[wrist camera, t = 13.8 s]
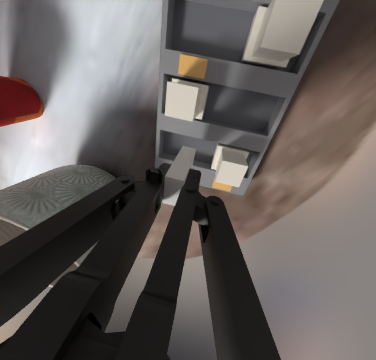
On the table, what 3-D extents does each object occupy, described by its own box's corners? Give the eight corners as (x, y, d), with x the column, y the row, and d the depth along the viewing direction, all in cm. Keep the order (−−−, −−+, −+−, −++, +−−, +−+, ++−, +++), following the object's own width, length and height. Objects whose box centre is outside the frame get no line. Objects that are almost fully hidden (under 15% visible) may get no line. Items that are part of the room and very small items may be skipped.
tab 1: (176, 79, 17) (160, 75, 13) (209, 86, 17) (206, 85, 12) (173, 110, 19) (158, 117, 14) (203, 116, 19) (197, 126, 14)
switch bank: (176, -45, 13) (165, -81, 11) (333, -21, 13) (367, -52, 10) (161, 165, 25) (153, 174, 23) (240, 184, 25) (243, 196, 22)
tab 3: (254, 16, 14) (272, -22, 9) (297, 23, 13) (340, -12, 9) (240, 62, 15) (250, 51, 11) (278, 69, 15) (305, 61, 11)
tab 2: (217, 140, 20) (217, 156, 15) (246, 147, 20) (255, 165, 15) (211, 162, 22) (209, 182, 17) (237, 168, 22) (242, 190, 17)
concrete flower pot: (83, 131, 25) (-60, 177, 12) (158, 195, 29) (111, 277, 17) (55, 183, 33) (-47, 243, 20) (117, 227, 37) (66, 298, 25)
